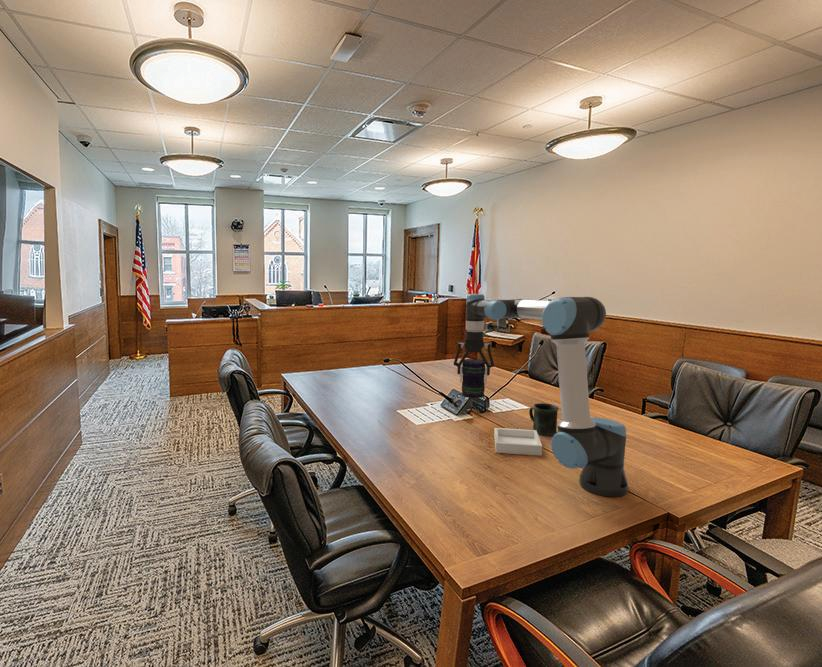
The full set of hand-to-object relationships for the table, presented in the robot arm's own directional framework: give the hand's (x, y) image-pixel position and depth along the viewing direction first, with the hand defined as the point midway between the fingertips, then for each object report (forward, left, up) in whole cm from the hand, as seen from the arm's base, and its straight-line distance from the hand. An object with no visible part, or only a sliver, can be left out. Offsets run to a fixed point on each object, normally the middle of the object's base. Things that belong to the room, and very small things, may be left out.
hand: (473, 382), depth 187 cm
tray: (-4, -19, -25) cm, 32 cm away
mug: (+16, -32, -26) cm, 44 cm away
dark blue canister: (0, 0, -6) cm, 6 cm away
